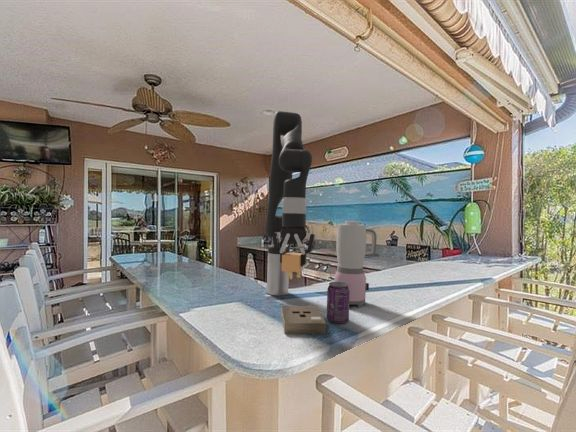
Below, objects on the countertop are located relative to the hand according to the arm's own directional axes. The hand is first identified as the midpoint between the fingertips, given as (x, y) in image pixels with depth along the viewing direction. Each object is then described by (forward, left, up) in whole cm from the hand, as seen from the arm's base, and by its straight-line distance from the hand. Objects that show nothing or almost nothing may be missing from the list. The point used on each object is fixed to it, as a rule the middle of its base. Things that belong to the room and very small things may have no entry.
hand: (292, 265), depth 95 cm
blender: (-19, +26, -18) cm, 37 cm away
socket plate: (+2, +3, -18) cm, 18 cm away
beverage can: (-1, +15, -18) cm, 24 cm away
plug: (0, 0, -4) cm, 4 cm away
